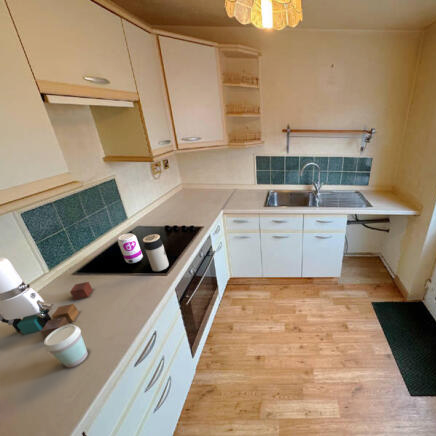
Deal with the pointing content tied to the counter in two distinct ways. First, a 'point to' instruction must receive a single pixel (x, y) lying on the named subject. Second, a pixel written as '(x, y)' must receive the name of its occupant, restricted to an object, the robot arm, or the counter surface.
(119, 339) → the counter surface
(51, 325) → the walnut block
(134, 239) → the supplement can
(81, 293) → the dark cherry block
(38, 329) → the teal block
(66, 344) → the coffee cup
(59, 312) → the oak block
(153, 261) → the travel mug
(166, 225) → the counter surface
